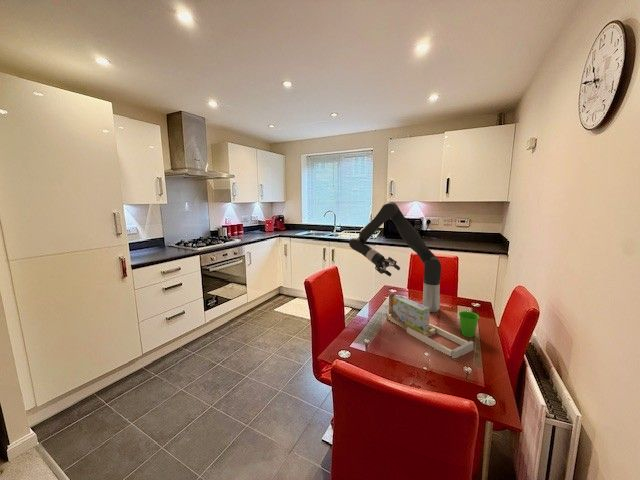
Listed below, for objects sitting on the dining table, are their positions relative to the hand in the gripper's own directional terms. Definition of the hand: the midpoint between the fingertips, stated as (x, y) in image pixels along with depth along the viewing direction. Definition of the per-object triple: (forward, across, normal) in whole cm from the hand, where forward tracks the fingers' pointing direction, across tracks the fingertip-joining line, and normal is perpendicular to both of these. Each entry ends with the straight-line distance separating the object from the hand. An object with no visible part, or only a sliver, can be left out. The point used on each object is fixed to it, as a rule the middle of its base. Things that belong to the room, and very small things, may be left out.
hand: (395, 272), depth 159 cm
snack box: (+26, -16, +13) cm, 32 cm away
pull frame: (+24, -14, +13) cm, 30 cm away
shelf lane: (+40, -16, +5) cm, 44 cm away
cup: (+48, -1, +5) cm, 48 cm away
